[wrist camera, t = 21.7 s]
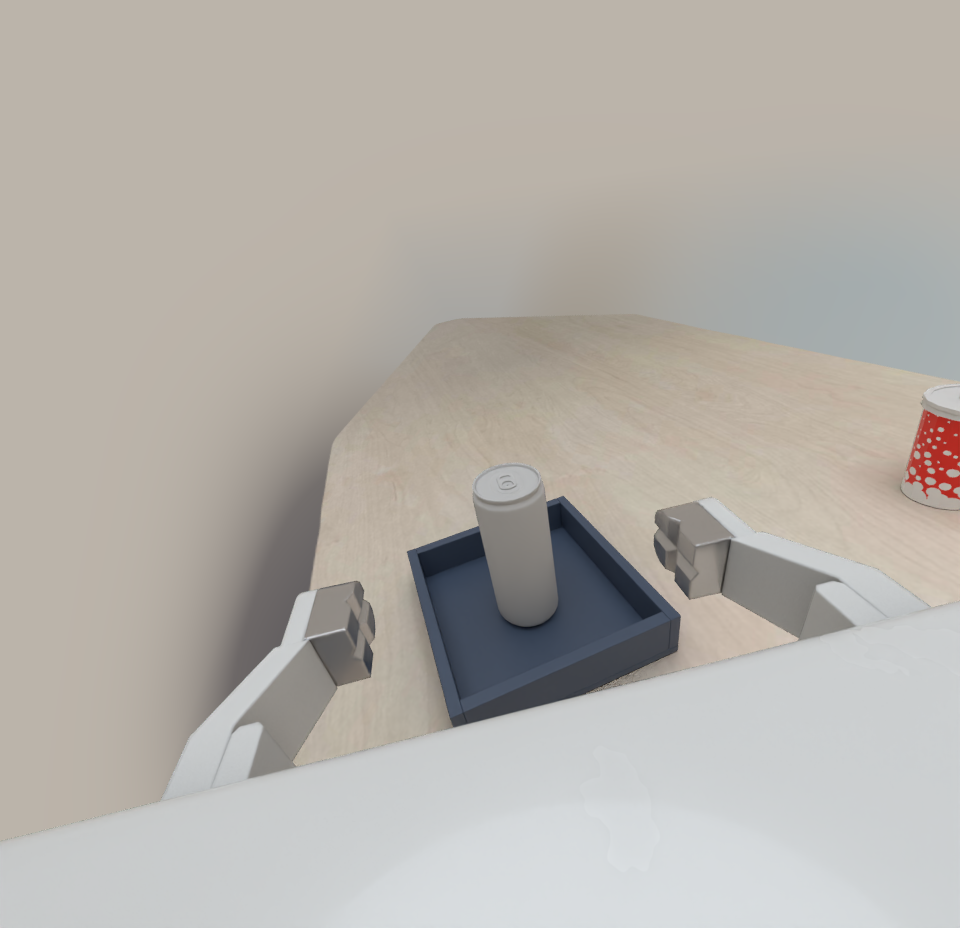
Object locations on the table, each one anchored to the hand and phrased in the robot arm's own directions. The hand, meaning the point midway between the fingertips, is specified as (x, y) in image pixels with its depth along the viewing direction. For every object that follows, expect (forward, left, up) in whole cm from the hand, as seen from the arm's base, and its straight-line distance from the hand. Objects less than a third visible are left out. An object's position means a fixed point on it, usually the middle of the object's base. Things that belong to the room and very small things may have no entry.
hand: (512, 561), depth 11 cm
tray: (+4, +14, -19) cm, 24 cm away
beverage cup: (+41, +9, -19) cm, 46 cm away
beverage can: (+4, +14, -19) cm, 24 cm away
